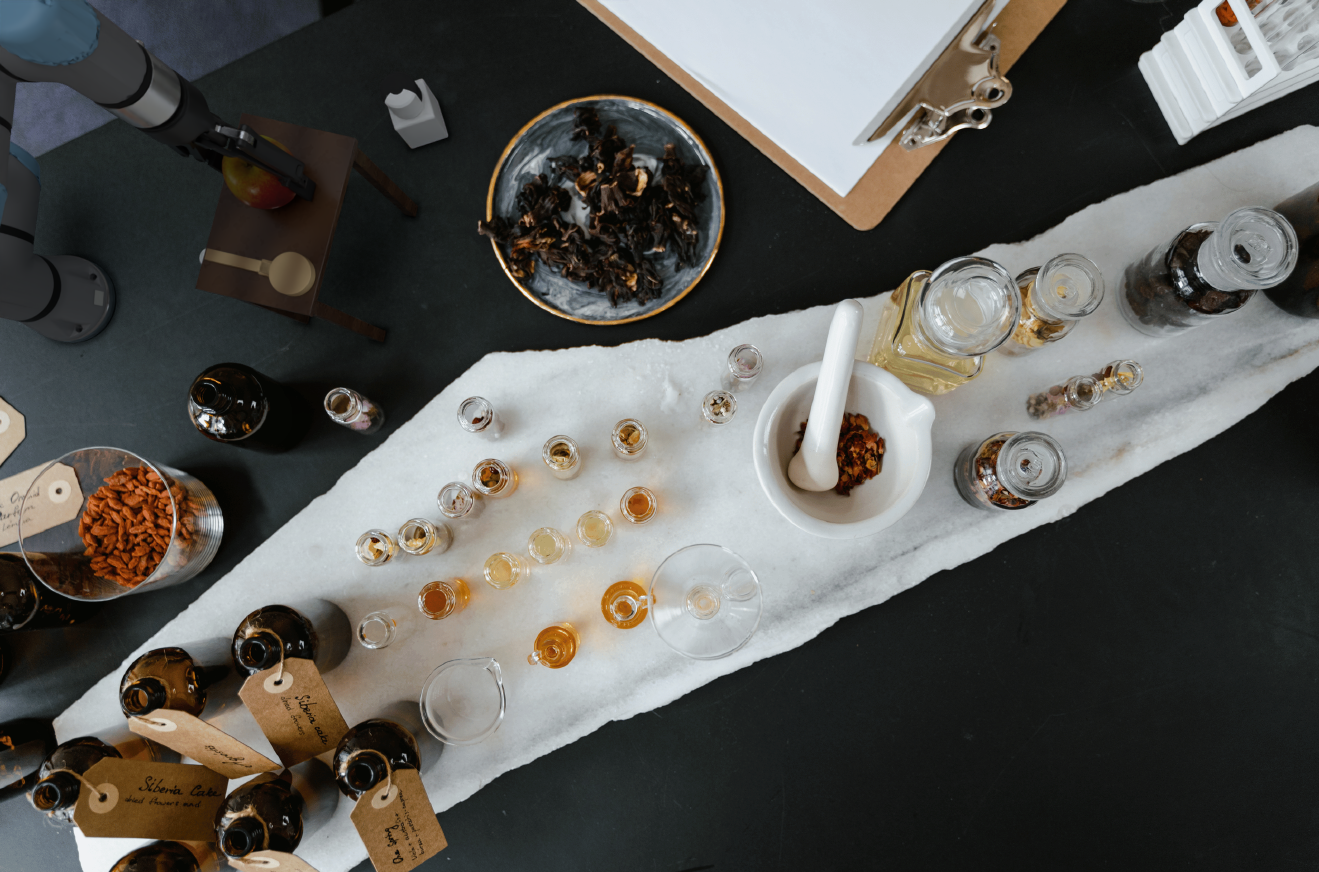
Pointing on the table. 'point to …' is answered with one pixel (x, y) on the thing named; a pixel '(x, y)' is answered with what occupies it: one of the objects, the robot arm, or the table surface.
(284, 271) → the wooden paddle
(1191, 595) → the table surface
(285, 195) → the fruit
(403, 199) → the dark wooden stool
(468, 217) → the table surface
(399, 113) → the gray notched block
